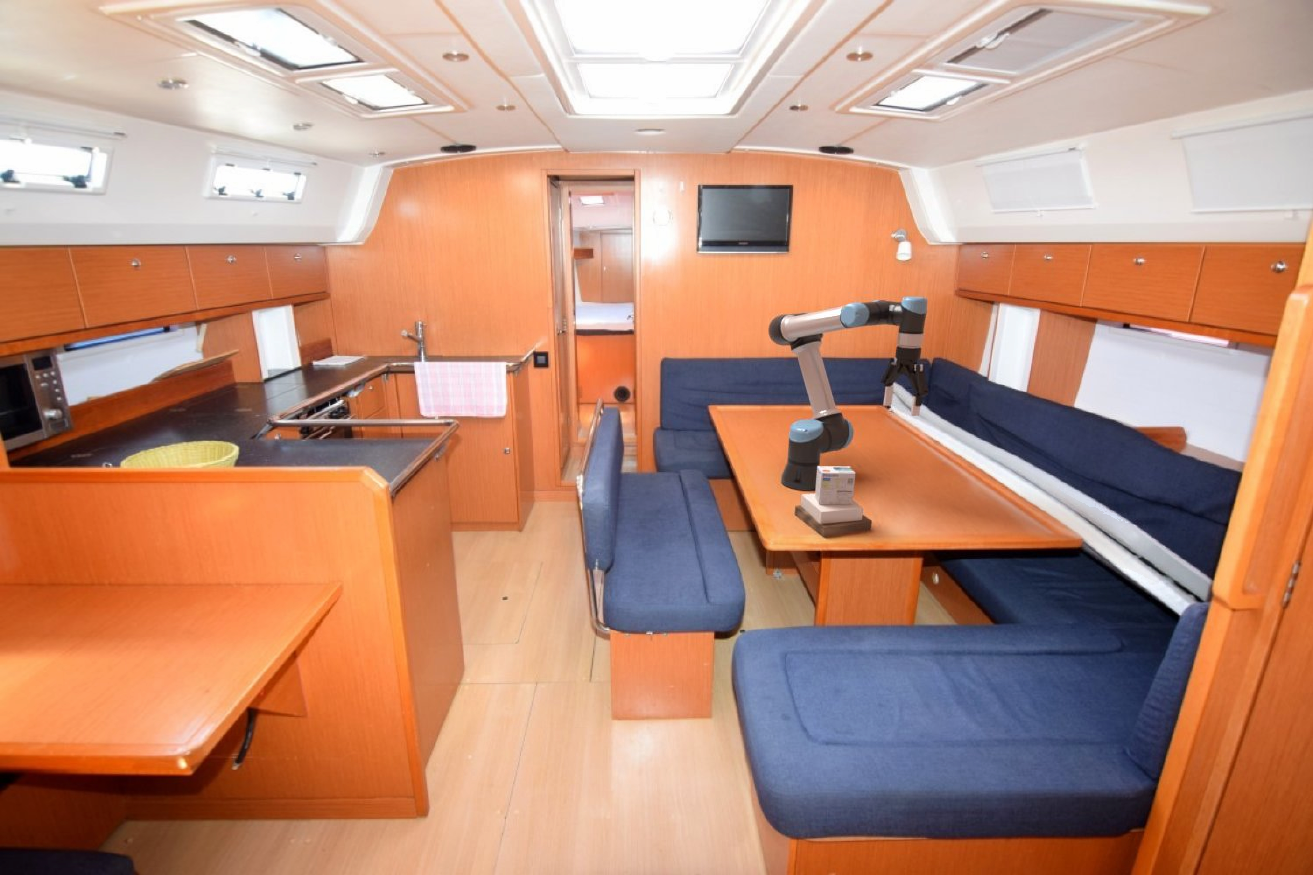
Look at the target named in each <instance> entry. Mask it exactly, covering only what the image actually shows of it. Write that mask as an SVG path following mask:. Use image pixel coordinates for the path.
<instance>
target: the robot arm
mask: <svg viewBox="0 0 1313 875" xmlns="http://www.w3.org/2000/svg"><path fill="white" fill-rule="evenodd" d="M927 314H928V298H926V297H924V296H904V297H903V298H902V301H893V300H892V301H891V300H890V301H889V300H884V299H883V300H882V299H879V300H877V299H876V300H873V301H868V302H867V301H866V302H865V301H864V302H859V301H857V302H852V303H851V302H850V303H847V304H846V305H842V306H838V307H837V306H836V307H833V308H828V309H823V310H819V311H815V312H801V313H790V314H789V313H787V314H785V313H784V314H780V315H777V316H775V317H774V318H773V319H772V320H771V321H770V323H769V325H768V336H769V338H770V340H771V341H772V342H773V343H775V344H776V345H779V346H787V347H788V346H789V347H790V350H791V353H793V354H794V355H796V356H797V360H798V364H799V367H800V371H801V375H802V378H803V382H804V385H805V388H806V392H807V396H808V399H809V403H810V408H811V410H812V414H813V415H812V417H811V418H808V419H804V418H803V419H800V420H797V421H795V422H793V423H792V424H791V425H790V428H789V432H788V448H787V460H786V465H785V467H784V469H783V471H782V473H781V475H780V476H781V477H780V483H781V484H782V485H783V486H785V487H786V488H789V489H792V490H798V491H815V490H816V478H817V466H821V465H820V464H821V455H822V454H827V453H831V452H838V451H841V450H842V449H843V450H844V449H845V448H847V447H849V445H850V444H851V443H852V441H853V438H854V434H855V433H854V427H853V425H852V423H851V421H850V420H849V419H847V418H846V417H845V418H844V416H843V412H842V411H841V410H839V409H837V405H836V404H835V399H834V396H833V392H832V389H831V385H830V382H829V379H828V376H827V371H826V368H825V364H824V361H823V357H822V354H821V350H820V348H821V346H822V344H823V343H822V342H823V341H822V339H823V337H824V334H826V333H830V332H831V333H832V332H836V331H842V330H847V329H855V328H861V327H862V328H863V327H868V326H870V327H871V326H880V325H881V326H882V325H885V326H886V325H887V326H895V327H898V332H897V337H896V338H897V340H896V345H897V346H896V348H895V357H890V359H889V362H888V365H887V367H886V369H885V372H884V373H883V375H882V377H881V380H880V383H881V384H883V386H884V391H883V394H884V398H883V406H884V407H887V406H888V407H889V406H892V404H893V397H894V396H893V394H894V388H895V387H894V384H895V382H896V381H897V380H898V379H899V377H901V375H903V376H905V377H906V378H907V379H909V382H910V384H911V387H912V389H913V392H914V395H912V401H911V402H912V403H911V408H910V416H911V417H916V416H918V417H919V416H920V412H921V406H923V399H924V398H923V397H924V396H928V395H929V388H928V383H927V382H928V381H927V378H926V373H925V369H926V365H925V364H924V363H923V364H922V363H921V364H918V361H919V360H920V359H921V354H922V348H921V347H922V346H923V339H924V333H925V332H924V330H925V324H926V318H927Z"/></svg>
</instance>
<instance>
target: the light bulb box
mask: <svg viewBox="0 0 1313 875" xmlns="http://www.w3.org/2000/svg"><path fill="white" fill-rule="evenodd" d="M855 481H856V472H855V471H854V470H853V469H852V467H851V466H849V465H848V466H845V465H843V466H837V465H836V466H834V465H833V466H824V465H820V466H817V478H816V490H814V491H815V498H816V500H817V501H818V503H819V504H834V505H852V502H853V501H854V491H855Z"/></svg>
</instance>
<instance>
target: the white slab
mask: <svg viewBox="0 0 1313 875" xmlns="http://www.w3.org/2000/svg"><path fill="white" fill-rule="evenodd" d="M800 498H801V499H800V505H801V507H802V508H804V509H805V510H806V511H807V512H808V513H809V514H810V515H811V516H812V517H813V518H814V519H815V520H817V521H818V522H819V523H820V524H826V523H836V522H847V521H858V520H862V515H864V514H863V513H864V508H863V507H862V505H860V504H859V503H857V502H856V501H854V500H853V502H852V505H834V504H819V503H818V501H817V500H816V498H815V493H804V494H801V497H800Z"/></svg>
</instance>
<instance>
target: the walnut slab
mask: <svg viewBox="0 0 1313 875" xmlns="http://www.w3.org/2000/svg"><path fill="white" fill-rule="evenodd" d="M794 507H795V508H794V516H796V517H797V518H798V519H799V520H800V521H802V522H803V523H804V524H805V525H807V526H808V527H810V529H812V530H813V531H814V532H815V533H817V534H818V535H819V536H821V537H822V538H828V537H835V536H840V535H848V534H855V533H856V534H857V533H862V532H868V531H871V530H872V523H873V521H872V519H870V518H869V517H867V516H866V515H864V514H863V515H862V520H858V521H847V522H836V523H826V524H820V523H819V522H818V521H817V520H815V519H814V518H813V517H812V516H811V515H810V514H809V513H808V512H807V511H806V510H805V509H804V508H802V507H801V504H800V505H795V506H794Z"/></svg>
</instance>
